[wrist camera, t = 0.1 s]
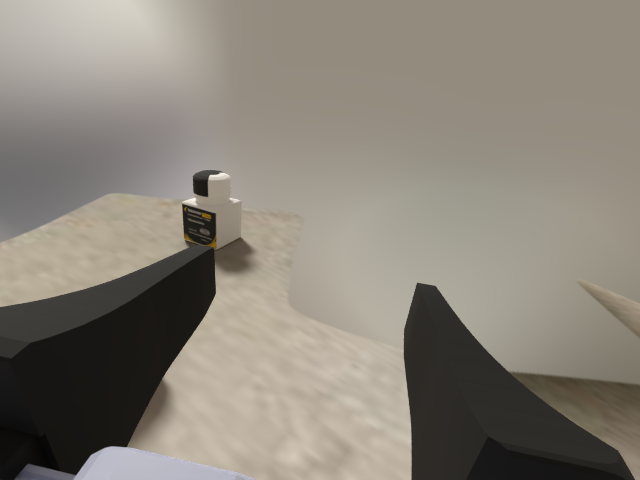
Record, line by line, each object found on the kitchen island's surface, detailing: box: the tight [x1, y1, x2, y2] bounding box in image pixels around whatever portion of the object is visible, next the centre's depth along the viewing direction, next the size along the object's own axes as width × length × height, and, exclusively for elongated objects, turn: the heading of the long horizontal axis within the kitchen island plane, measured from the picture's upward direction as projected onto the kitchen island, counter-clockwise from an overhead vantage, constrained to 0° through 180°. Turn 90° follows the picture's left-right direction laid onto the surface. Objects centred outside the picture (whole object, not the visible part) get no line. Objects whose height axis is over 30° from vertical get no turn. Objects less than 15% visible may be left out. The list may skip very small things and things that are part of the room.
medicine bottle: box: [182, 170, 241, 250], centre depth 63 cm, size 7×7×12 cm
